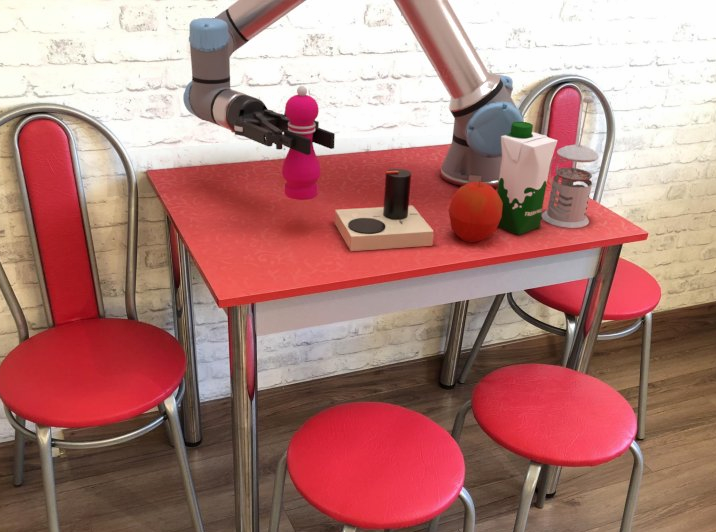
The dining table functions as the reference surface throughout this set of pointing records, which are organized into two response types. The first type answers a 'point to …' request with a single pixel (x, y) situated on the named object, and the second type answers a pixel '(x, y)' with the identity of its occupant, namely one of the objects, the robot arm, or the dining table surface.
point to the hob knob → (397, 194)
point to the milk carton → (523, 177)
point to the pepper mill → (297, 165)
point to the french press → (571, 186)
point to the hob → (394, 236)
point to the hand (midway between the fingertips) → (320, 144)
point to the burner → (366, 225)
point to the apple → (475, 211)
